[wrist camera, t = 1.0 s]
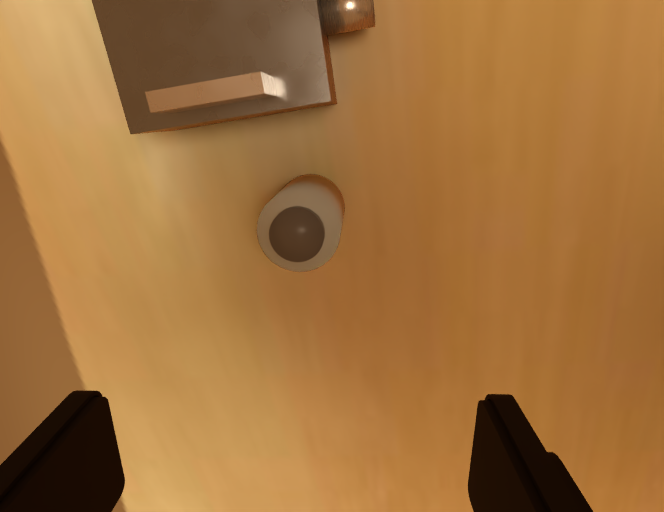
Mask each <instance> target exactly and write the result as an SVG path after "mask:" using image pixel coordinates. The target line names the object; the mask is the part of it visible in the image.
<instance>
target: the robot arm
mask: <svg viewBox="0 0 664 512" xmlns="http://www.w3.org/2000/svg"><path fill="white" fill-rule="evenodd" d="M124 484H125V478H124V473H123V468H122V464H121V459H120V454H119V449H118V445H117V440H116V435H115V431H114V426H113V421H112V416H111V412H110V407H109V402H108V399H107V398H106V397H102V394H101V393H100V392H99V391H73V392H72V393H70V394H69V395H68V396H67V397H66V398H65V399H64V400H63V401H62V402H61V403H60V405H58V406H57V407H56V408H55V410H54V411H53V412H52V413H51V414H50V415H49V416H48V417H47V418H46V419H45V420H44V421H43V422H42V423H41V424H40V425H39V426H38V427H37V428H36V429H35V430H34V431H33V432H32V433H31V434H30V435H29V436H28V437H27V438H26V439H25V441H23V442H22V444H21V445H20V446H19V447H18V448H17V449H16V450H15V451H14V452H13V453H12V454H11V455H10V456H9V457H8V458H7V459H6V460H5V461H4V462H3V463H2V464H1V465H0V512H111V511H112V510H113V508H114V506H115V505H116V503H117V501H118V500H119V498H120V496H121V494H122V492H123V489H124ZM468 493H469V498H470V502H471V505H472V508H473V511H474V512H593V510H592V509H591V507H590V506H589V504H588V503H587V501H586V499H585V498H584V496H583V495H582V493H581V491H580V490H579V488H578V487H577V485H576V483H575V482H574V480H573V479H572V477H571V476H570V474H569V472H568V471H567V469H566V468H565V466H564V464H563V463H562V461H561V460H560V459H559V457H558V456H557V455H556V454H554V453H553V452H546V450H545V448H544V447H543V445H542V443H541V442H540V440H539V438H538V437H537V435H536V433H535V432H534V430H533V428H532V427H531V425H530V423H529V422H528V420H527V418H526V417H525V415H524V413H523V412H522V410H521V408H520V407H519V405H518V403H517V402H516V400H515V399H514V397H513V396H512V395H506V394H488V395H487V396H486V398H485V400H480V401H479V402H478V407H477V415H476V423H475V431H474V439H473V447H472V455H471V463H470V471H469V479H468Z"/></svg>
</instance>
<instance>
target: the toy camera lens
mask: <svg viewBox="0 0 664 512" xmlns="http://www.w3.org/2000/svg"><path fill="white" fill-rule="evenodd" d="M344 211H345V205H344V199H343V196H342V194H341V192H340V190H339V189H338V187H337V186H336V185H335V184H334V183H333V182H332V181H330V180H329V179H327V178H325V177H323V176H320V175H315V174H307V175H302V176H299V177H296V178H295V179H293V180H292V181H290V182H289V183H288V184H287V185H286V186H285V187H284V188H283V189H282V190H281V191H280V192H278V193H277V194H276V195H275V196H274V197H273V198H272V199H271V200H270V201H269V202H268V203H267V204H266V205H265V206H264V208H263V209H262V211H261V213H260V215H259V218H258V222H257V237H258V241H259V244H260V246H261V248H262V250H263V252H264V253H265V254H266V256H267V257H268V258H269V259H270V260H271V261H272V262H274V263H275V264H276V265H278V266H280V267H282V268H284V269H287V270H290V271H296V272H305V271H311V270H314V269H316V268H319V267H321V266H322V265H324V264H325V263H326V262H327V261H329V260H330V258H331V257H332V256H333V255H334V253H335V251H336V249H337V247H338V244H339V240H340V234H341V228H342V223H343V217H344Z"/></svg>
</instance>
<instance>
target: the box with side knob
mask: <svg viewBox="0 0 664 512" xmlns="http://www.w3.org/2000/svg"><path fill="white" fill-rule="evenodd" d="M92 3H93V6H94V10H95V13H96V17H97V20H98V23H99V27H100V30H101V34H102V37H103V41H104V44H105V48H106V51H107V54H108V58H109V61H110V65H111V68H112V72H113V75H114V79H115V82H116V86H117V89H118V92H119V96H120V99H121V103H122V106H123V110H124V113H125V117H126V120H127V123H128V127H129V130H130V134H140V133H151V132H163V131H174V130H180V129H186V128H192V127H198V126H204V125H210V124H216V123H222V122H228V121H234V120H241V119H247V118H253V117H259V116H265V115H271V114H277V113H283V112H289V111H295V110H301V109H307V108H313V107H319V106H326V105H332V104H337V99H336V92H335V85H334V78H333V71H332V64H331V57H330V50H329V42H328V35H333V34H338V33H344V32H349V31H355V30H360V29H366V28H371V27H375V15H374V3H373V0H92Z"/></svg>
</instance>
